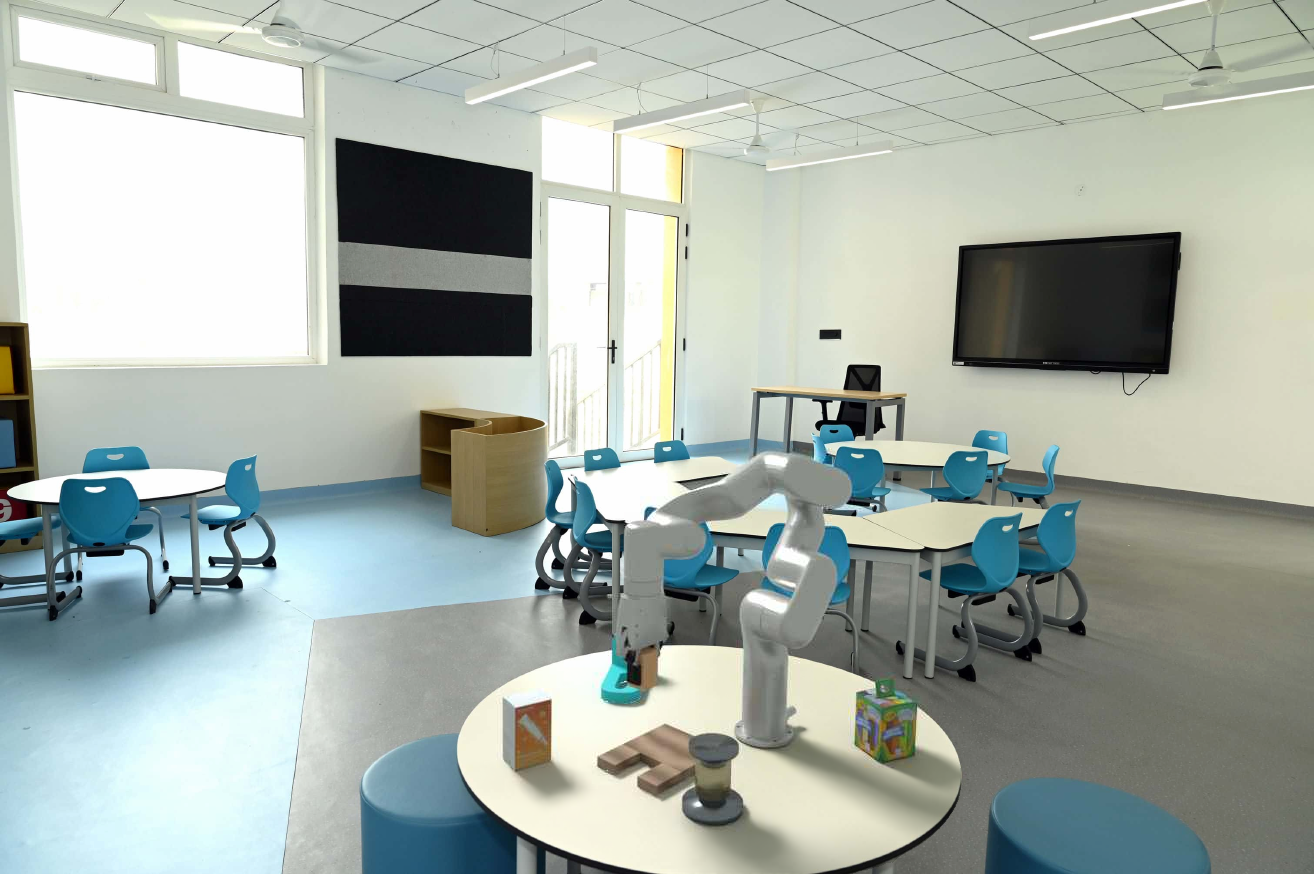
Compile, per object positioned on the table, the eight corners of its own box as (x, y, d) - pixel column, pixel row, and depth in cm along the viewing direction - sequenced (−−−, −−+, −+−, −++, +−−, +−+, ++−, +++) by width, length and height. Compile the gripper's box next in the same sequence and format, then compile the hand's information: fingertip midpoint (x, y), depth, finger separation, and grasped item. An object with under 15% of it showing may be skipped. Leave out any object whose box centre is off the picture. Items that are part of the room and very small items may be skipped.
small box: (514, 771, 158) (514, 707, 157) (502, 758, 164) (501, 696, 162) (552, 760, 163) (552, 698, 162) (538, 748, 168) (538, 687, 167)
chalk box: (880, 764, 163) (883, 693, 162) (852, 744, 172) (855, 676, 170) (917, 755, 167) (920, 686, 165) (887, 736, 175) (890, 670, 174)
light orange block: (642, 679, 159) (642, 644, 158) (657, 685, 156) (658, 649, 155) (628, 685, 156) (628, 650, 155) (643, 691, 153) (644, 655, 152)
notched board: (665, 732, 176) (665, 723, 176) (723, 757, 165) (723, 748, 165) (597, 765, 161) (597, 756, 161) (656, 796, 150) (656, 785, 150)
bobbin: (708, 785, 154) (709, 724, 153) (755, 807, 147) (757, 744, 146) (669, 808, 146) (670, 744, 145) (717, 833, 139) (718, 766, 138)
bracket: (613, 670, 211) (614, 626, 209) (649, 672, 209) (650, 628, 208) (598, 702, 191) (598, 654, 190) (637, 705, 190) (638, 656, 188)
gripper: (657, 574, 163) (656, 663, 164) (597, 591, 150) (597, 687, 152) (686, 581, 158) (685, 672, 160) (627, 600, 145) (626, 699, 147)
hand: (642, 679), depth 156 cm, fingers closed on light orange block, 4 cm apart
